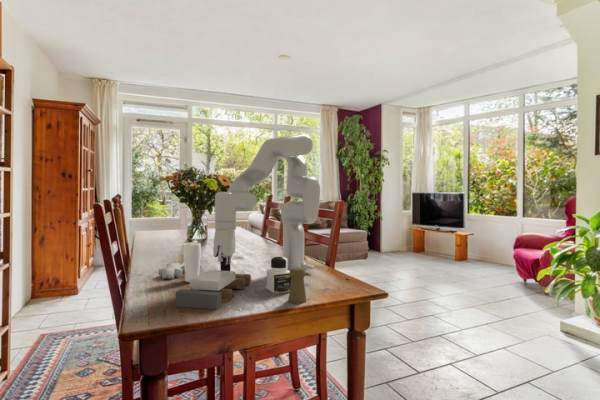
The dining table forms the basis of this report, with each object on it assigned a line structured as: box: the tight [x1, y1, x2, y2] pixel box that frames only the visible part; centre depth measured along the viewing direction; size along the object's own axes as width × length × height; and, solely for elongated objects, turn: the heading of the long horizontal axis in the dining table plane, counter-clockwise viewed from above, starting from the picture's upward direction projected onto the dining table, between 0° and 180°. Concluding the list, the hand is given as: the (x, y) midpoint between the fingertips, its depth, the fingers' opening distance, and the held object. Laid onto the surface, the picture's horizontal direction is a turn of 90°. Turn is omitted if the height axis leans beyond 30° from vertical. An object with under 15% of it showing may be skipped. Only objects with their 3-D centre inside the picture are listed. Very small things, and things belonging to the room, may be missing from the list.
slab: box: [189, 269, 236, 291], centre depth 118 cm, size 10×14×3 cm
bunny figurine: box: [158, 262, 184, 280], centre depth 146 cm, size 10×5×15 cm
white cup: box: [182, 241, 202, 283], centre depth 137 cm, size 7×7×15 cm
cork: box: [288, 267, 307, 305], centre depth 114 cm, size 6×6×11 cm
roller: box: [189, 288, 234, 301], centre depth 116 cm, size 14×4×4 cm, turn 78°
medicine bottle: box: [266, 256, 291, 295], centre depth 126 cm, size 7×7×12 cm
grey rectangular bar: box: [175, 288, 223, 311], centre depth 108 cm, size 14×3×4 cm, turn 78°
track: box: [222, 273, 252, 303], centre depth 125 cm, size 14×23×4 cm, turn 168°
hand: (225, 274), depth 128 cm, fingers closed
